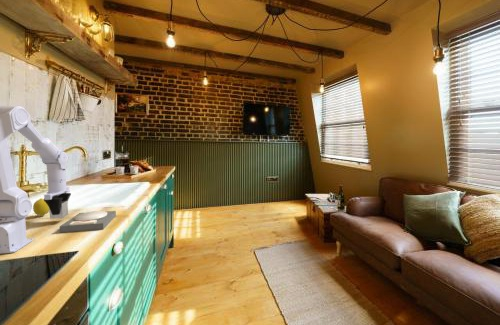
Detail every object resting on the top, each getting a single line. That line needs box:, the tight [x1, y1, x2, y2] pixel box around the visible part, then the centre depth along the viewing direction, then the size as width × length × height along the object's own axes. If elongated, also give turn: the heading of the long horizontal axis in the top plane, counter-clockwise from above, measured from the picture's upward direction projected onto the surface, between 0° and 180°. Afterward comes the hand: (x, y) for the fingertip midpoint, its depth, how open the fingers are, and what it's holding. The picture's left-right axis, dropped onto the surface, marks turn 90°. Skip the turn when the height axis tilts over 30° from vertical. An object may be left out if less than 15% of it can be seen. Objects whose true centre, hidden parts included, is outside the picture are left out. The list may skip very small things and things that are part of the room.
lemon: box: [32, 198, 49, 217], centre depth 101 cm, size 6×6×8 cm
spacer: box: [48, 201, 69, 220], centre depth 94 cm, size 4×4×6 cm
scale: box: [59, 210, 117, 234], centre depth 93 cm, size 16×14×3 cm
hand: (59, 212), depth 94 cm, fingers closed on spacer, 4 cm apart
